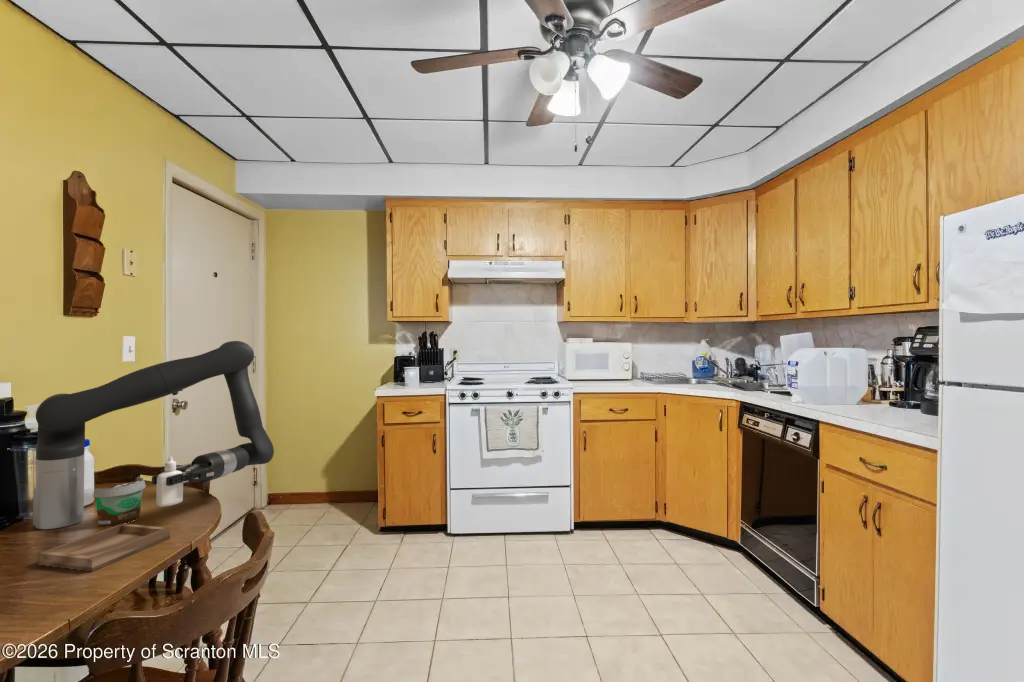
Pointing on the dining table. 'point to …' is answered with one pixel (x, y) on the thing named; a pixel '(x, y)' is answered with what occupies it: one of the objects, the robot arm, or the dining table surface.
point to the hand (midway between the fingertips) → (160, 481)
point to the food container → (119, 503)
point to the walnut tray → (104, 547)
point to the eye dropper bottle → (168, 493)
